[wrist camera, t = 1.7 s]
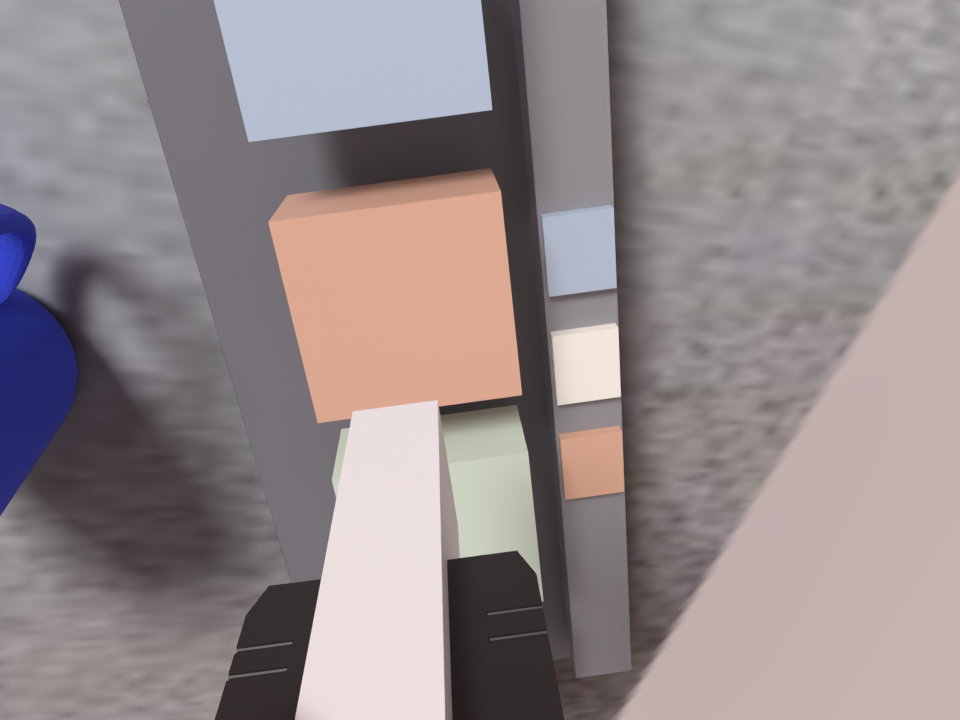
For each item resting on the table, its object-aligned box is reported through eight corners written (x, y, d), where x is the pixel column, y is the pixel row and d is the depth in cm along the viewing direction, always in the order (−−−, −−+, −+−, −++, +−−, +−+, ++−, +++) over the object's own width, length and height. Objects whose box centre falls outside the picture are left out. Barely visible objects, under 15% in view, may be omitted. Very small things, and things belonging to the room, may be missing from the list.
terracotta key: (329, 376, 24) (317, 423, 22) (287, 195, 22) (268, 222, 19) (511, 352, 24) (521, 395, 22) (490, 168, 22) (501, 191, 19)
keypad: (329, 658, 36) (317, 739, 32) (106, -126, 22) (36, -156, 18) (617, 617, 36) (641, 693, 32) (578, -186, 22) (613, -229, 18)
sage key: (373, 565, 28) (367, 626, 25) (341, 429, 25) (331, 479, 22) (531, 543, 28) (543, 601, 25) (516, 405, 25) (528, 452, 22)
